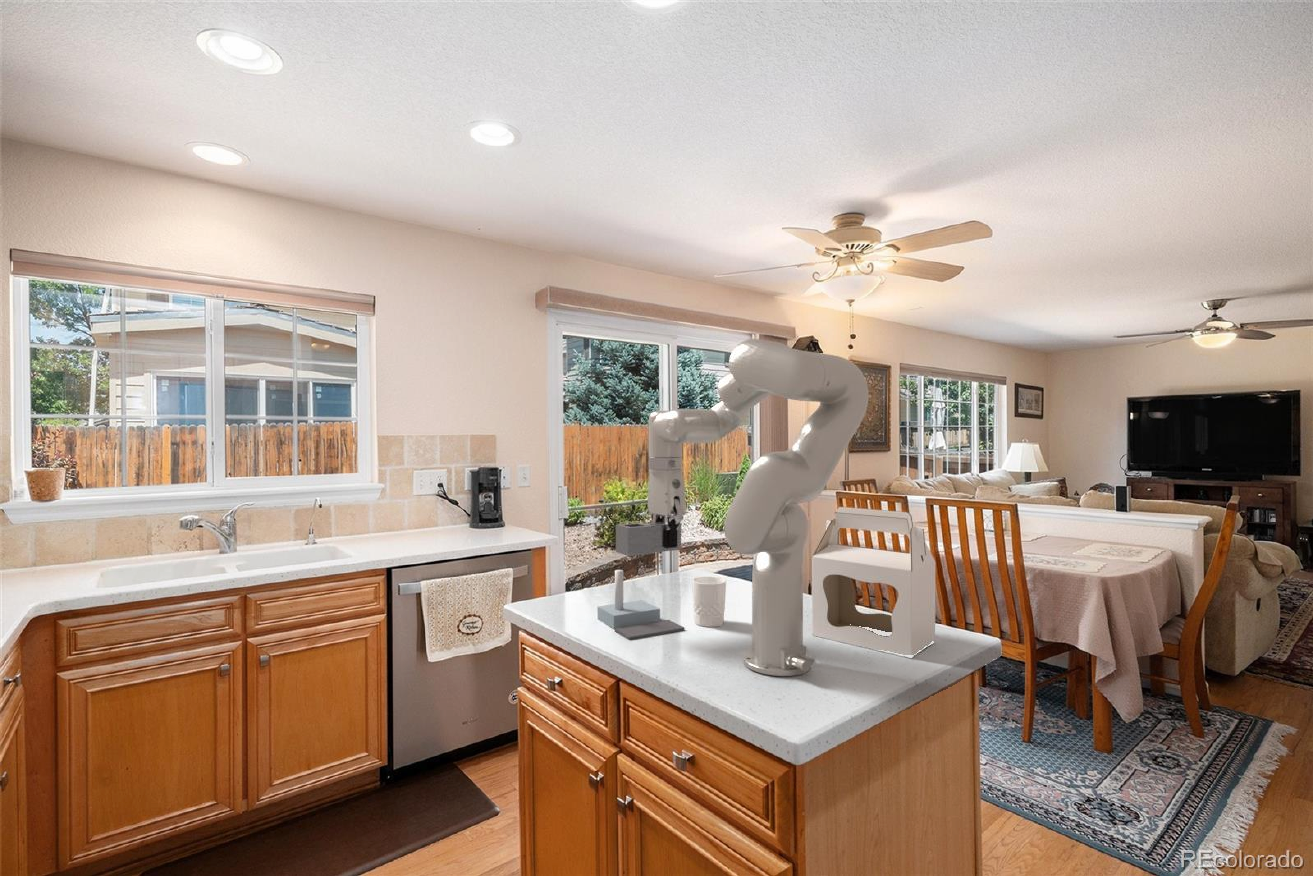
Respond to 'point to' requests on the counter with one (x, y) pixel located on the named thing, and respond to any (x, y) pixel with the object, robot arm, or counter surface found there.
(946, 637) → the counter surface
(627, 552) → the block
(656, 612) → the grey peg stand
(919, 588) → the gable box
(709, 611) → the white cup
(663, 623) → the mat
